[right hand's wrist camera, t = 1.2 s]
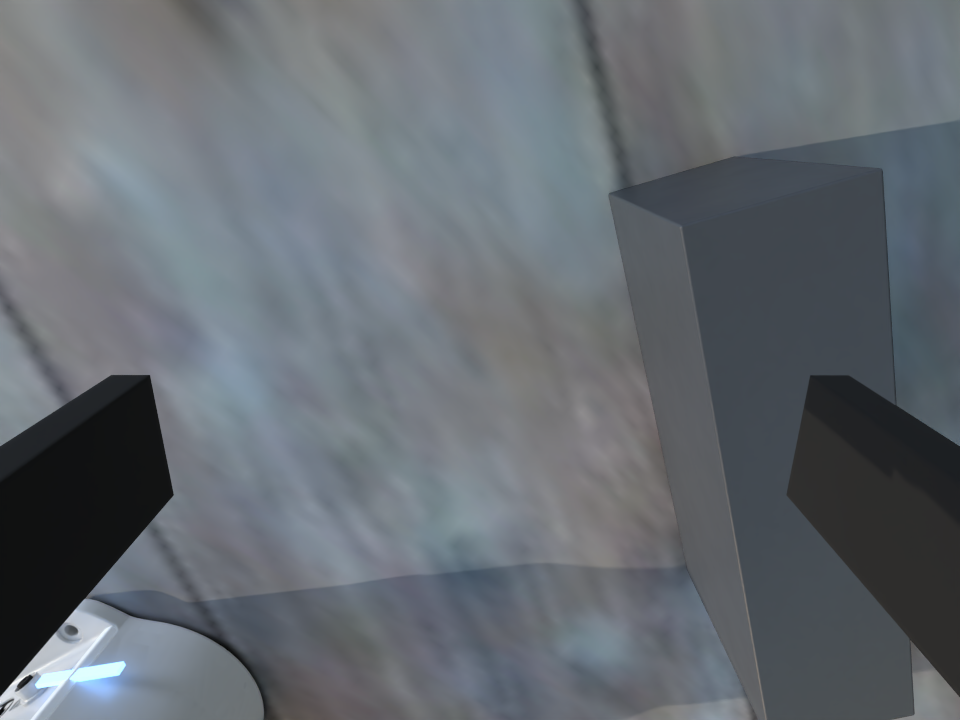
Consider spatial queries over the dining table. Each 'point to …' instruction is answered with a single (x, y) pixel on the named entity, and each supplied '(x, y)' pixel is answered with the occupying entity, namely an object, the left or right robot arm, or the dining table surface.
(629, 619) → the dining table surface
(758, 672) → the box
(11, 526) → the right robot arm
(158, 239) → the dining table surface
